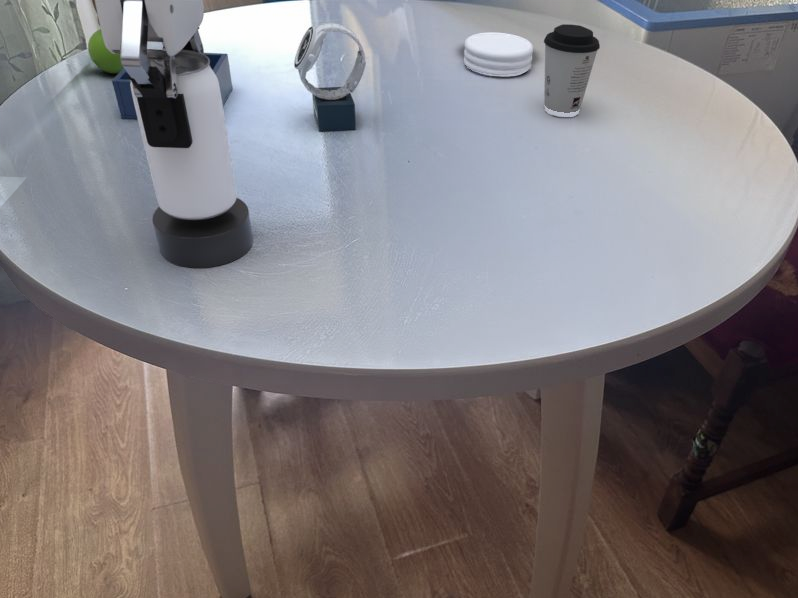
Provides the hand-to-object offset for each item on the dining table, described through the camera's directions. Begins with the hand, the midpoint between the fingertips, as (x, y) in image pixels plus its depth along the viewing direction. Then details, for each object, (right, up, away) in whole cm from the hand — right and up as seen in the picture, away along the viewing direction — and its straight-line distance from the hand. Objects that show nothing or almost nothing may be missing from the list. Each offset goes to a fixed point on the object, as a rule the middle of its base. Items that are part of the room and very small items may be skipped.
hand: (182, 124), depth 57 cm
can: (0, -6, +5) cm, 7 cm away
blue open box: (-12, +12, +31) cm, 35 cm away
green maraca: (-23, +18, +37) cm, 47 cm away
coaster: (+27, +23, +48) cm, 60 cm away
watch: (+7, +9, +29) cm, 32 cm away
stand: (-1, -8, +7) cm, 11 cm away
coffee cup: (+35, +13, +36) cm, 52 cm away
